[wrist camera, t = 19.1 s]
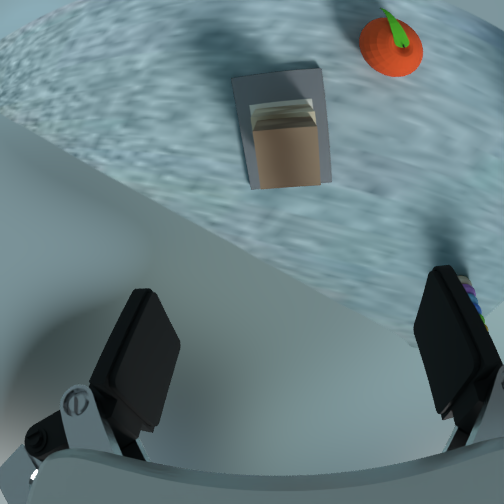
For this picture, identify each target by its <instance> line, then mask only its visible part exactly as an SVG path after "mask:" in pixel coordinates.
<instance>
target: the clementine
mask: <svg viewBox="0 0 504 504" xmlns="http://www.w3.org/2000/svg"><path fill="white" fill-rule="evenodd" d="M380 9H382V8H380ZM382 10H383V11H384V13H385V14H386V17H387V18H378V19H375V20H372V21H371V22H369V23H368V24H367V25H366V26H365V27H364V29H363V30H362V32H361V35H360V38H359V46H360V50H361V53H362V55H363V57H364V59H365V60H366V62H367V63H368V64H369V65H370V66H371V67H372V68H374V69H375V70H376V71H378V72H380V73H382V74H384V75H387V76H392V77H401V76H405V75H408V74H411V73H412V72H413V71H415V70H416V69H417V67H418V66H419V65H420V63H421V60H422V57H423V48H422V43H421V41H420V39H419V36H418V35H417V34H416V32H415V31H414V30H413V29H412V28H411V27H410V26H408V25H407V24H406V23H404V22H402V21H400V20H398V19H395V18H394V16H393V15H392V14H391V13H389V12H388V11H386V10H385V9H382Z"/></svg>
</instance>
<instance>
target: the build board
mask: <svg viewBox="0 0 504 504" xmlns="http://www.w3.org/2000/svg"><path fill="white" fill-rule="evenodd" d="M231 82H232V87H233V93H234V98H235V103H236V109H237V114H238V120H239V125H240V131H241V136H242V141H243V147H244V152H245V158H246V164H247V169H248V175H249V180H250V186H251V190H254V189H261V188H260V181H259V173H258V166H257V159H256V152H255V145H254V138H253V130H252V124H251V116H252V114H253V112H254V111H255V109H261V108H269V107H279V106H289V105H300V104H309V105H310V106H311V107H312V108H313V110H314V111H315V117H316V125H317V130H318V144H319V161H320V181H321V183H329V182H332V175H331V159H330V145H329V132H328V121H327V111H326V101H325V92H324V84H323V76H322V69H321V68H316V69H301V70H290V71H280V72H271V73H263V74H256V75H249V76H242V77H236V78H231Z"/></svg>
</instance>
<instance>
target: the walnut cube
mask: <svg viewBox="0 0 504 504" xmlns="http://www.w3.org/2000/svg"><path fill="white" fill-rule="evenodd" d="M253 138H254V145H255V152H256V159H257V166H258V173H259V181H260V188H261V189H271V188H284V187H298V186H313V185H321V181H320V161H319V144H318V130H317V125H316V124H315V122H314V120H313V119H312V117H311V116H307V117H291V118H279V119H268V120H258V121H257V122H256V124H255V127H254V129H253Z"/></svg>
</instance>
